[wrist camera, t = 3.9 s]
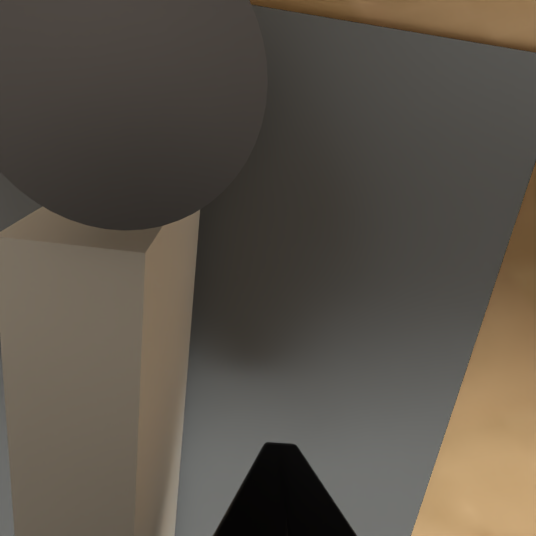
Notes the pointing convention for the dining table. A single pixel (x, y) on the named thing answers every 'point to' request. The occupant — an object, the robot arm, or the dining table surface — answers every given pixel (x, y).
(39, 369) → the gate
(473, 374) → the dining table surface
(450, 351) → the plate with peg
